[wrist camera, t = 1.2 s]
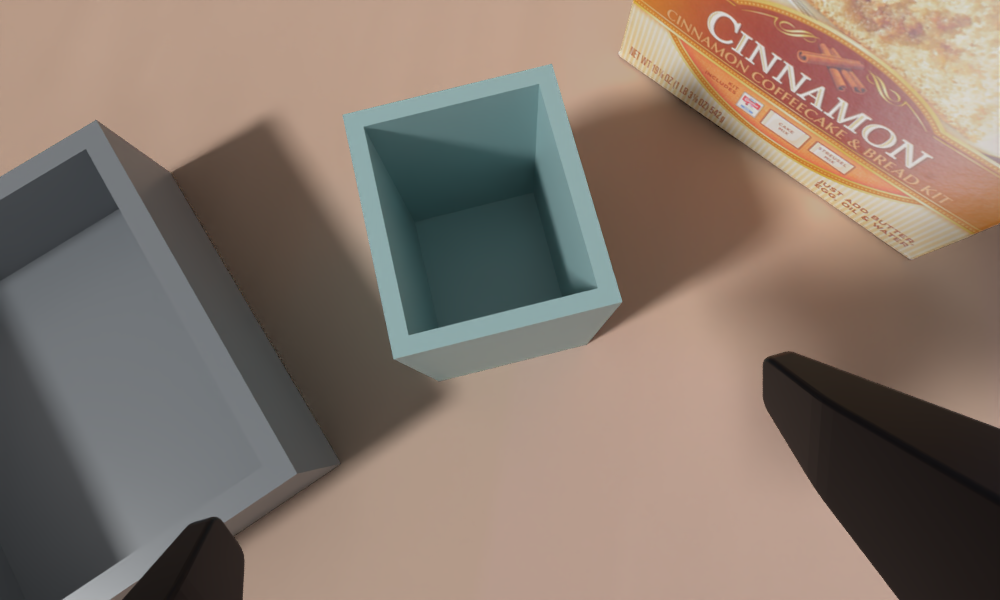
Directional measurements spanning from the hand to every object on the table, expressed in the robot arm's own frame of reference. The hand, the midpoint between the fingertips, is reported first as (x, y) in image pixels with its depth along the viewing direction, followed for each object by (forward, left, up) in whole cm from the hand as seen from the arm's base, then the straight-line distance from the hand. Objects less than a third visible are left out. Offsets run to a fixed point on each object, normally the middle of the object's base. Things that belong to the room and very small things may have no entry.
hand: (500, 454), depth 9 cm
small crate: (+6, +1, -14) cm, 15 cm away
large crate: (+1, +16, -14) cm, 21 cm away
